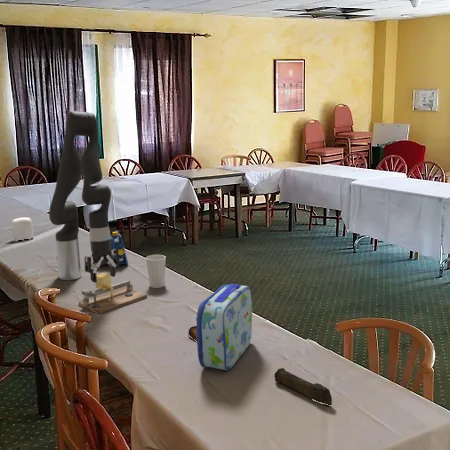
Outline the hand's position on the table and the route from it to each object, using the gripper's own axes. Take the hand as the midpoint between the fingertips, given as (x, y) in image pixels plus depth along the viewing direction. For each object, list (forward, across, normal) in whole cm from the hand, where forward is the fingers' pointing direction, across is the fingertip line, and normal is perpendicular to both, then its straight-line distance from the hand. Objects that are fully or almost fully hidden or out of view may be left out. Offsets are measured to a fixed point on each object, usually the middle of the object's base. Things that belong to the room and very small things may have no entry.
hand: (103, 279), depth 227 cm
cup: (+9, -25, +2) cm, 26 cm away
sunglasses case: (+10, -5, +55) cm, 56 cm away
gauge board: (+9, -2, +3) cm, 9 cm away
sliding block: (+7, 0, +1) cm, 7 cm away
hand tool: (+11, +8, +99) cm, 99 cm away
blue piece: (+9, -31, -38) cm, 50 cm away
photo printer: (+8, -28, -113) cm, 117 cm away
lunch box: (+10, +5, +68) cm, 68 cm away
